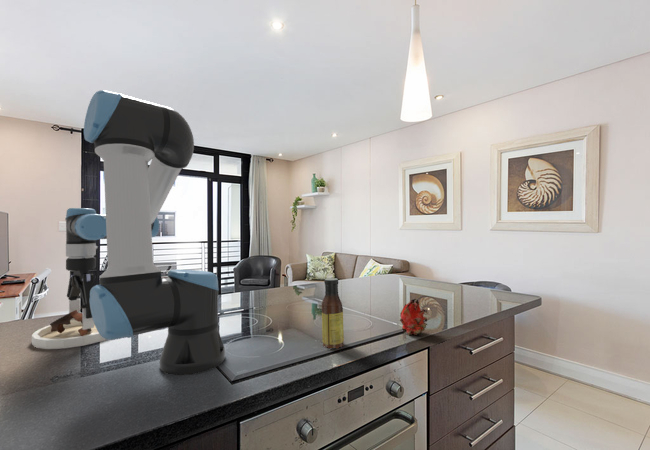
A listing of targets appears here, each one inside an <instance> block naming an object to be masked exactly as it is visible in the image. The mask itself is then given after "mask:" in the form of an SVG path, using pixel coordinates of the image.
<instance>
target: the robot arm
mask: <svg viewBox="0 0 650 450" xmlns="http://www.w3.org/2000/svg"><path fill="white" fill-rule="evenodd" d="M83 137H84V140H85V142H89V143H91V144H94V154H96V155H97V156H98V157H99V158H101V159H102V161H103V176H104V178H103V179H104V180H103V181H104V204H105V214H100V213H97V210H96V209H94V208H85V207H82V208H81V207H71V208H67V210H66V215H65V216H66V217H65V232H66V234H65V235H66V236H65V240H66V241H65V257H67V258H66V259H65V270H66V271H69V281H68V287H67V293H66V297H67V298H68V314H69V313H71V312H73V311H75V310H77V312H78V313H82V329H83V330H85V329H90V328H94V324H95V326H96V329H97V331H98V332H99V334H100V335H101V336H102V337H103V338H105V339H107V340H108V341H116V340H121V339H125V338H128V339H130V338H132V337H134V336H138V335H143V334H146V333H151V332H155V331H159V330H163V329H167V337H166V340H165V343H164V344H163V345H164V346H163V347H162V350H161V354H160V358H159V369H160V371H161V372H162V373H164V374H166V375H171V376H190V375H196V374H202V373H206V372H208V371H210V370H213V369H215V368H217V367H219V366H220V365H221V364H222V363H223V362H224V361H225V358H226V350H225V345H224V343H223V340H222V337H221V333H220V331H219V322H218V321H219V291H220V288H219V280H218V279H219V278H218V276H217V275H216V274H215V273H214V272H211V271H206V270H205V271H204V270H198V269H197V270H195V269H194V270H193V269H170V270H169V271H168V272H167V277H162V271H161V269H160V268H159V267H157V265H155V264H154V256H153V255H154V253H153V252H154V251H153V238H156V237H157V236H158V233H159V229H160V222H159V218H158V215H159V214H160V211H161V210H162V207H163V205H164V203H165V201H166V200H167V198H168V195H169V194H170V192H171V190H172V189H173V186H174V184H175V182H176V180H177V178H178V176H179V175H180V173H181V170H182V169H185V168H187V167H188V165H189V163H190V162H191V159H192V157H193V154H194V150H195V142H194V139H195V138H194V134H193V132H192V129H191V126H190V125H189V123H188V122H187V120H186V119H185V118H184V117H183V115H181V114H180V112H178V111H176V110H175V109H173V108H171V107H169V106H165V105H162V104H157V103H154V102H150V101H147V100H142V99H139V98H135V97H133V96H128V95H125V94H123V93H121V92H113V91H109V90H104V89H101V90H97V91H96V92H95V93H94V94H93V95H92V97H91V99H90V101H89V103H88V106H87V110H86V113H85V119H84V124H83ZM149 162H150V164H149ZM98 240H106V252H107V253H106V254H107V268H106V269H105V270H104V272H102V274H100V275H99V284H96V285H95V283H94V274H93V273H90V270H94V269H96V267H97V257H95V256H96V255H97V254H96V253H97V252H96V251H97V249H98V247H99V246H98V245H97V241H98ZM81 299H82V304H83V305H81ZM81 309H82V312H81ZM72 320H75V319H74V318H72V319H71V320H70V321H72ZM107 340H106V341H107Z"/></svg>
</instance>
